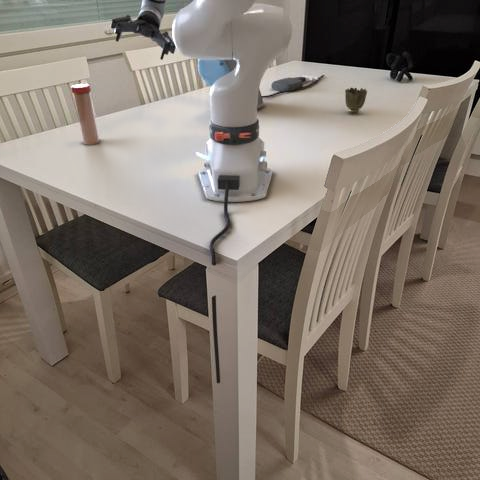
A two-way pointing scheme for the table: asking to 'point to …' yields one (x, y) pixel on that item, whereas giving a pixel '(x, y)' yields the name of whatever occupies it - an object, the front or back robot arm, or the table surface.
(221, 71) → the back robot arm
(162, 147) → the table surface
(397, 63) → the squiggle
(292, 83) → the spray bottle
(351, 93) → the olive tapered piece
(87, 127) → the jar
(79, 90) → the lid
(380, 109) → the table surface
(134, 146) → the table surface
